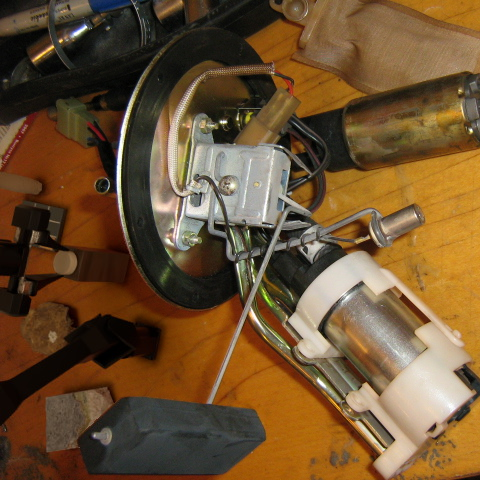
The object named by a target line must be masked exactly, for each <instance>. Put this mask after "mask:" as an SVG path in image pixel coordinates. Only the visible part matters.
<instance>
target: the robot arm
mask: <svg viewBox="0 0 480 480" xmlns="http://www.w3.org/2000/svg"><path fill="white" fill-rule="evenodd" d="M50 216H51V213H50V210H47V209H43V208H38V207H34V206H29V205H24V204H22V203H19V204H17V205H15V207H14V210H13V214H12V219H11V224H10V226H12V227H16V229H17V230H16V229H15V233H16V234H14V238H16V239H17V242H16V241H12V240H10V239H6V238H0V277H8V278H9V279H8V282H7V287H6V286H0V313H1V314H3V315H6V316H9V317H12V318H21V317H22V318H24V317H26V316H27V315H28V314H29V310H30V309H31V305H32V301H33V299H32V298H34V297H35V298H36V297H37V296H38V292H39V291H41V290H42V289H44V288H45V287H47V286H49V285H50V284H52V283H55V282H56V281H58V280H60V279H62V278H63V277H64V275H60V274H56V272H55V273H54V272H53V273H52V272H51V273H50V272H49V273H35V274H27V269H28V265H29V261H30V255H31V251H32V247H33V246H32V244H36V245H40V246H44V247H48V248H52V249H56V250H58V251H69V250H70V249H68V248H66V247H64V246H62V245H63V244H61V243H60V244H59V243H57V242H56V241H55V240H54V239H52V238H51V237H50V231H49V230H46V229H47V228H48V225H49V220H50ZM31 297H32V298H31ZM75 328H76V329H75V330H73V331H72V332H70V333H69V334H68V335H66V336H65V337H64V338H63V339H64V340H65V341H66V342H67V343H68V344H67V345H66V346H65V347H63V348H61V349H60V350H58V351H56V352H55V353H53V354H51V355H47V356H46V357H44V358H43V359H41V360H39V361H38V362H36V363H35V364H33V365H32V366H30V367H28V368H26V369H25V370H23V371H21V372H20V373H18V374H17V375H15V376H13V377H11V378H8V379H5V380H0V427H2V425H4V424H5V423H6V421H8V420H9V419H10V417H12V416H13V415H14V414H15V413H16V412H17V411H18V409H19V408H20V407H21V406H22V404H23V403H24V402H25V401H26V400H27V399H28V398H30V397H32V396H33V395H34V394H35V393H37V392H39V391H41V390H42V389H43V388H45V387H46V386H48V385H49V384H51V383H52V382H53V381H55V380H56V379H58V378H60V377H61V376H62V375H64V374H65V373H67V372H69V370H71V369H73V368H74V367H76V366H78V365H81V364H86V363H89V362H91V361H92V362H93V363H94V364H96V365H98V366H99V367H101V368H102V369H103V370H107V369H109V368H110V367H111V366H113V365H114V364H116V363H117V362H119V361H121V360H127V359H134V358H138V357H139V358H140V357H141V358H144V359H146V360H149V361H151V362H152V361H155V360H156V357H157V351H158V347H159V343H160V338H161V334H162V329H161V328H160V327H157V326H154V325H151V324H148V323H145V322H142V321H139V320H138V321H137V320H136V321H135V322H133V321H130V320H126V319H123V318H120V317H117V316H114V315H112V314H110V313H107V314H104V315H102V313H101V312H99V313H98V314H97V315H95V316H94V317H93V318H91V319H88V320H86V321H84V322H83V323H81V324H80V325H79V326H77V327H75Z"/></svg>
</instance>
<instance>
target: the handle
mask: <svg viewBox="0 0 480 480" xmlns="http://www.w3.org/2000/svg"><path fill="white" fill-rule="evenodd" d="M0 189H3V190H6V191H10V192H13V193H14V192H15V193H22V194H32V195H39V194H40V192H42V191H43V184H42V183H41V182H39V181H38V180H37V179H33V178H30V177H27V176H24V175H21V174H16V173H10V172H5V171H0Z"/></svg>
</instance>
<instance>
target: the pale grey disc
mask: <svg viewBox="0 0 480 480" xmlns="http://www.w3.org/2000/svg"><path fill="white" fill-rule="evenodd" d="M52 266H53V270H54V272H55V273H57V274H60V275H70V274H72V273H73V272H74V270H75V269H76V266H77V258H76V255H75V254H74V253H73V252H72V251H60V250H58V252H56V254H55V255H54V257H53V261H52Z"/></svg>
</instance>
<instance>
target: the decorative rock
mask: <svg viewBox="0 0 480 480" xmlns="http://www.w3.org/2000/svg"><path fill="white" fill-rule="evenodd" d="M69 312H70V307H69V306H65V305H64V304H63V303H58V302H57V303H55V302H51V301H45V302H42V303H40V304H39V305H38V306H37V307H36V308H30V310H29V314H28V315H27V316H26V317H22V319H21V322H20V324H19V325H20V327H19V328H20V330H19V331H20V334H21V336H22V338H23V339H24V340H25V342H26V343H27V344H28V345H29V346H30V348H31V352H34V353H37V354H41V355H44V356H50V355H51V354H53V353H55V352H56V351H58V350H60V349H61V348H63V347H65V346H66V345H67V344H68V343H67V342H66V341H65V340H64V339H63V338H64V337H65V336H66V335H68V334H69V333H70V332H72V331H73V330H75V329H76V328H77V327H74V326H72V325H73V324H74V321H75V319H74V318H73V319H71V318H72V317H70V314H69Z"/></svg>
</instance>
